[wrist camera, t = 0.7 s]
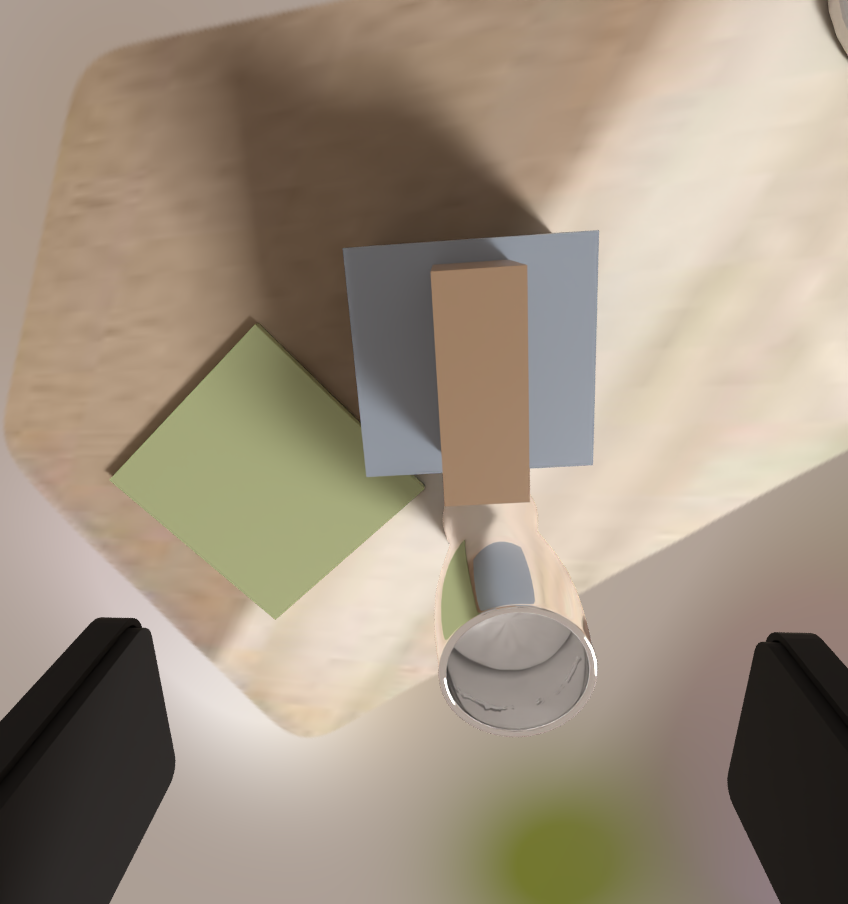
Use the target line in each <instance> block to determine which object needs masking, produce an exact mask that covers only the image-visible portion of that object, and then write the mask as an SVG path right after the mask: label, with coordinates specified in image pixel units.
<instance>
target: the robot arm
mask: <svg viewBox="0 0 848 904" xmlns="http://www.w3.org/2000/svg"><path fill="white" fill-rule="evenodd" d="M828 7H829V13H830V16H831V20H832V23H833V26H834V29H835V32H836V35H837V38H838V39H839V41H840V43H841V45H842V46H843V48H844V50H845V52H846V53H847V55H848V0H828ZM174 770H175V754H174V749H173V743H172V738H171V733H170V728H169V723H168V717H167V712H166V708H165V702H164V697H163V691H162V686H161V682H160V677H159V671H158V665H157V660H156V655H155V650H154V645H153V640H152V635H151V632H150V631H149V629H147V628H142V626H141V624H140V622H139V621H138V620H137V619H135V618H104V617H101V618H97V619H95V620H94V621H93V622H91V623H90V624H89V626H88V627H87V628H86V629H85V630H84V631H83V632H82V633H81V634H80V635H79V636H78V638H77V639H76V640H75V641H74V642H73V643H72V644H71V645H70V646H69V647H68V649H67V650H66V651H65V652H64V653H63V654H62V655H61V656H60V657H59V658H58V659H57V660H56V662H55V663H54V664H53V665H52V666H51V667H50V668H49V669H48V670H47V671H46V673H45V674H44V675H43V676H42V677H41V678H40V679H39V680H38V681H37V682H36V683H35V684H34V685H33V687H32V688H31V689H30V690H29V691H28V692H27V693H26V694H25V695H24V696H23V697H22V698H21V700H20V701H19V702H18V703H17V704H16V705H15V706H14V707H13V708H12V709H11V710H10V712H9V713H8V714H7V715H6V716H5V717H4V718H3V719H2V720H1V721H0V904H109V903H110V901H111V899H112V897H113V895H114V893H115V891H116V889H117V887H118V885H119V883H120V881H121V880H122V878H123V876H124V874H125V872H126V870H127V868H128V866H129V864H130V862H131V860H132V858H133V856H134V854H135V852H136V850H137V848H138V846H139V844H140V842H141V840H142V838H143V836H144V834H145V832H146V831H147V828H148V827H149V824H150V823H151V821H152V819H153V817H154V815H155V813H156V811H157V809H158V807H159V805H160V803H161V801H162V799H163V797H164V795H165V793H166V791H167V789H168V787H169V785H170V783H171V781H172V778H173V774H174ZM727 779H728V780H727V781H728V790H729V795H730V799H731V801H732V804H733V806H734V808H735V810H736V812H737V814H738V816H739V818H740V820H741V822H742V825H743V827H744V829H745V831H746V832H747V835H748V837H749V839H750V841H751V843H752V845H753V847H754V849H755V851H756V854H757V855H758V858H759V860H760V862H761V864H762V866H763V868H764V870H765V872H766V874H767V876H768V878H769V881H770V883H771V884H772V887H773V889H774V891H775V893H776V895H777V897H778V899H779V901H780V903H781V904H848V668H847V667H846V666H845V665H844V664H843V663H842V661H841V660H839V658H838V657H837V656H836V655H835V653H834V652H833V651H832V650H831V649H830V648H829V647H828V646H827V645H826V644H825V642H824V641H823V640H822V639H821V638H820V637H818V636H817V635H816V634H812V633H782V632H781V633H780V632H779V633H778V632H774V633H771V634H770V635H769V636H768V637H767V640H766V642H760V643H758V645H757V646H756V648H755V651H754V656H753V661H752V666H751V670H750V675H749V680H748V684H747V689H746V693H745V698H744V702H743V707H742V711H741V716H740V721H739V726H738V730H737V735H736V739H735V744H734V749H733V753H732V758H731V762H730V767H729V772H728V778H727Z"/></svg>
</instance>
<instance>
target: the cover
mask: <svg viewBox="0 0 848 904" xmlns="http://www.w3.org/2000/svg"><path fill="white" fill-rule="evenodd" d="M598 248H599V230H597V231H579V232H562V233H546V234H532V235H517V236H503V237H489V238H475V239H460V240H446V241H432V242H417V243H403V244H389V245H374V246H363V247H351V248H343V257H344V266H345V276H346V285H347V295H348V305H349V314H350V324H351V334H352V343H353V353H354V362H355V372H356V382H357V391H358V401H359V410H360V420H361V430H362V439H363V449H364V458H365V468H366V477H377V476H396V475H415V474H434V473H443V488H444V504H445V506H465V505H485V504H505V503H525V502H530V468H547V467H566V466H585V465H593V443H594V404H595V365H596V326H597V287H598Z"/></svg>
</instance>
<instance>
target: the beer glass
mask: <svg viewBox="0 0 848 904" xmlns="http://www.w3.org/2000/svg"><path fill="white" fill-rule="evenodd" d="M442 520H443V529H444V532H445V535H446V538H447V540H448V542H449V544H450V545H449V548H448V551H447V554H446V557H445V560H444V563H443V566H442V569H441V572H440V576H439V580H438V584H437V588H436V594H435V607H434V630H435V643H436V653H437V660H438V677H439V684H440V688H441V691H442V694H443V696H444V698H445V700H446V702H447V703H448V705H449V706H450V708H451V709H452V710H453V711H454V712H455V713H456V714H457V715H458V716H459V717H460V718H461V719H462V720H464V721H465V722H467V723H468V724H470V725H472V726H473V727H475V728H477V729H479V730H482V731H485V732H488V733H490V734H494V735H499V736H506V737H525V736H532V735H537V734H541V733H545V732H548V731H550V730H553V729H555V728H557V727H559V726H561V725H563V724H564V723H566V722H567V721H569V720H570V719H572V718H573V717H574V716H575V715H576V714H577V713H579V711H580V710H581V709H582V708H583V707H584V706H585V704H586V703H587V702H588V700H589V698H590V697H591V695H592V693H593V690H594V688H595V684H596V680H597V673H598V666H597V658H596V654H595V651H594V648H593V646H592V642H591V638H590V633H589V629H588V625H587V621H586V617H585V614H584V610H583V607H582V604H581V601H580V598H579V595H578V592H577V590H576V588H575V585H574V583H573V581H572V579H571V577H570V574H569V572H568V571H567V569H566V567H565V566H564V564H563V563H562V561H561V560H560V558H559V557H558V555H557V554H556V553H555V551H554V550H553V549H552V548H551V546H550V545H549V544H548V543H547V541H546V540H545V539H544V538H543V537H542V535H541V534H540V533H539V532H538V512H537V507H536V504H535V502H534V500H533V498H532V496H531V495H530V502H525V503H505V504H485V505H465V506H445V507H444V511H443V519H442Z"/></svg>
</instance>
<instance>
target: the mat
mask: <svg viewBox="0 0 848 904" xmlns="http://www.w3.org/2000/svg"><path fill="white" fill-rule="evenodd" d="M110 481H111V482H112V483H113V484H114V485H116V486H117V487H118V488H119V489H120V490H122V491H123V492H124V493H125V494H126V495H128V496H129V497H130V498H131V499H132V500H133V501H135V502H136V503H137V504H138V505H139V506H141V507H142V508H143V509H144V510H145V511H147V512H148V513H149V514H150V515H151V516H152V517H154V518H155V519H156V520H157V521H158V522H160V523H161V524H162V525H163V526H164V527H166V528H167V529H168V530H169V531H170V532H171V533H173V534H174V535H175V536H176V537H177V538H179V539H180V540H181V541H182V542H183V543H185V544H186V545H187V546H188V547H189V548H191V549H192V550H193V551H194V552H195V553H196V554H198V555H199V556H200V557H201V558H202V559H204V560H205V561H206V562H207V563H208V564H210V565H211V566H212V567H213V568H214V569H215V570H217V571H218V572H219V573H220V574H221V575H223V576H224V577H225V578H226V579H227V580H229V581H230V582H231V583H232V584H233V585H235V586H236V587H237V588H238V589H239V590H240V591H242V592H243V593H244V594H245V595H246V596H248V597H249V598H250V599H251V600H252V601H254V602H255V603H256V604H257V605H258V606H259V607H261V608H262V609H263V610H264V611H265V612H267V613H268V614H269V615H270V616H271V617H273V618H274V619H275V620H276V619H277V618H278V617H279V616H280V615H281V614H283V613H284V612H285V611H286V610H287V609H288V608H289V607H291V606H292V605H293V604H294V603H295V602H296V601H297V600H299V599H300V598H301V597H302V596H303V595H304V594H305V593H307V592H308V591H309V590H310V589H311V588H312V587H313V586H315V585H316V584H317V583H318V582H319V581H320V580H321V579H323V578H324V577H325V576H326V575H327V574H328V573H329V572H331V571H332V570H333V569H334V568H335V567H336V566H337V565H338V564H340V563H341V562H342V561H343V560H344V559H345V558H346V557H348V556H349V555H350V554H351V553H352V552H353V551H354V550H356V549H357V548H358V547H359V546H360V545H361V544H362V543H364V542H365V541H366V540H367V539H368V538H369V537H370V536H372V535H373V534H374V533H375V532H376V531H377V530H378V529H380V528H381V527H382V526H383V525H384V524H385V523H386V522H388V521H389V520H390V519H391V518H392V517H393V516H394V515H396V514H397V513H398V512H399V511H400V510H401V509H402V508H403V507H405V506H406V505H407V504H408V503H409V502H410V501H411V500H413V499H414V498H415V497H416V496H417V495H418V494H419V493H421V492H422V491H423V490H424V485H423V484H422V483H421V482H420V481H419V480H418V479H417V478H416V477H415V476H414V475H396V476H377V477H366V468H365V458H364V449H363V439H362V430H361V423H360V422H359V421H358V420H357V419H356V418H355V417H354V416H353V415H352V414H351V413H350V412H349V411H348V410H347V409H346V408H345V407H344V406H342V405H341V404H340V403H339V402H338V401H337V400H336V399H335V398H334V397H333V396H332V395H331V394H330V393H329V392H328V391H327V390H326V389H325V388H324V387H323V386H322V385H321V384H320V383H319V382H318V381H317V380H316V379H315V378H314V377H313V376H312V375H311V374H310V373H309V372H308V371H307V370H306V369H305V368H304V367H303V366H302V365H301V364H299V363H298V362H297V361H296V360H295V359H294V358H293V357H292V356H291V355H290V354H289V353H288V352H287V351H286V350H285V349H284V348H283V347H282V346H281V345H280V344H279V343H278V342H277V341H276V340H275V339H274V338H273V337H272V336H271V335H270V334H269V333H268V332H267V331H266V330H265V329H264V328H263V327H262V326H261V325H260V324H259V323H257V324H255V325H254V326H253V327H252V328H251V329H250V330H249V331H248V332H247V333H246V334H245V336H244V337H243V338H242V339H241V340H240V341H239V342H238V343H237V344H236V345H235V346H234V347H233V348H232V349H231V350H230V352H229V353H228V354H227V355H226V356H225V357H224V358H223V359H222V360H221V361H220V362H219V363H218V364H217V365H216V367H215V368H214V369H213V370H212V371H211V372H210V373H209V374H208V375H207V376H206V377H205V378H204V379H203V380H202V381H201V383H200V384H199V385H198V386H197V387H196V388H195V389H194V390H193V391H192V392H191V393H190V394H189V395H188V396H187V397H186V399H185V400H184V401H183V402H182V403H181V404H180V405H179V406H178V407H177V408H176V409H175V410H174V411H173V412H172V414H171V415H170V416H169V417H168V418H167V419H166V420H165V421H164V422H163V423H162V424H161V425H160V426H159V427H158V428H157V430H156V431H155V432H154V433H153V434H152V435H151V436H150V437H149V438H148V439H147V440H146V441H145V442H144V443H143V444H142V446H141V447H140V448H139V449H138V450H137V451H136V452H135V453H134V454H133V455H132V456H131V457H130V458H129V459H128V461H127V462H126V463H125V464H124V465H123V466H122V467H121V468H120V469H119V470H118V471H117V472H116V473H115V474H114V475H113V477H112V478H111V479H110Z"/></svg>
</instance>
